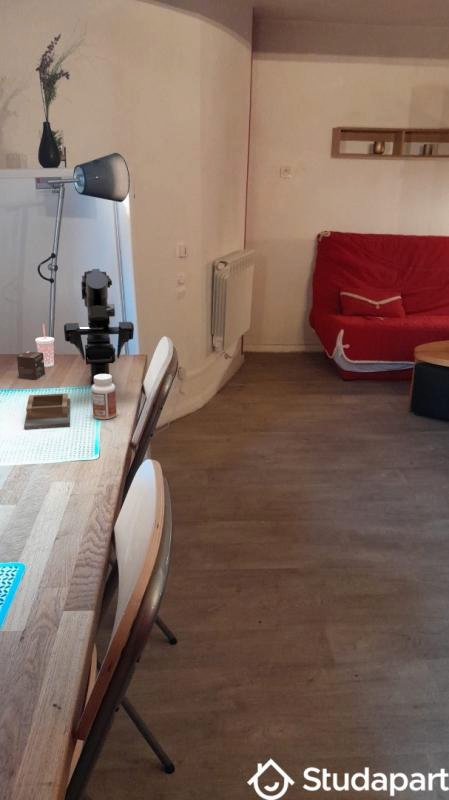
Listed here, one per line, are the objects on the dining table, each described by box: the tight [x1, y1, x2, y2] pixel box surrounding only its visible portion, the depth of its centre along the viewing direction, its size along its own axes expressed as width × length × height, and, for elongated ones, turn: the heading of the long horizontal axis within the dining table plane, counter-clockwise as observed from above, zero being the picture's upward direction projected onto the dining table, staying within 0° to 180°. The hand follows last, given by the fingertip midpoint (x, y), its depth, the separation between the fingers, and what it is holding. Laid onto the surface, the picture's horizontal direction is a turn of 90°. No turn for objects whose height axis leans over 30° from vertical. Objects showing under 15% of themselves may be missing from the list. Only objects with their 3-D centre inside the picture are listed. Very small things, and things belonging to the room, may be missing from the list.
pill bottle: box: [91, 373, 117, 420], centre depth 148 cm, size 6×6×11 cm
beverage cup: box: [35, 323, 55, 368], centre depth 188 cm, size 6×6×14 cm
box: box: [16, 351, 46, 381], centre depth 178 cm, size 6×6×7 cm
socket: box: [23, 392, 71, 431], centre depth 149 cm, size 18×11×4 cm, turn 14°
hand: (101, 358), depth 153 cm, fingers open, 9 cm apart
